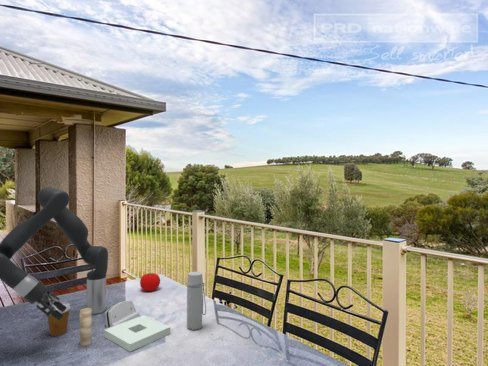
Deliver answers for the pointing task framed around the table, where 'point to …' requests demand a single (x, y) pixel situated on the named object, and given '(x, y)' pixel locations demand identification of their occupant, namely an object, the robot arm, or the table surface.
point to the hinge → (120, 313)
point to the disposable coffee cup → (59, 322)
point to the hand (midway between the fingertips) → (63, 313)
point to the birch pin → (85, 326)
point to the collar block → (130, 339)
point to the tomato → (149, 282)
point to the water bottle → (195, 300)
